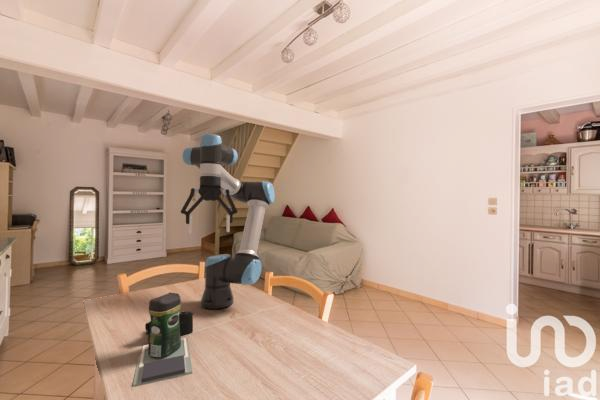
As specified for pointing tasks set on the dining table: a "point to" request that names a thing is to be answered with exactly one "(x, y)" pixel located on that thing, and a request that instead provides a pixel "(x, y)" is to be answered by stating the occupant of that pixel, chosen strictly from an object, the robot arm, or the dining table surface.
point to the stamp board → (146, 358)
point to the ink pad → (163, 369)
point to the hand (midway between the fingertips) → (209, 232)
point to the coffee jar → (164, 325)
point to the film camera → (184, 321)
